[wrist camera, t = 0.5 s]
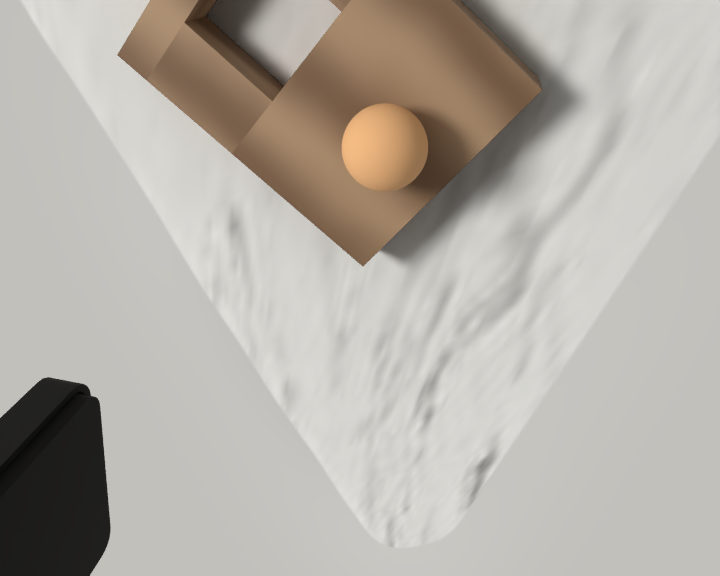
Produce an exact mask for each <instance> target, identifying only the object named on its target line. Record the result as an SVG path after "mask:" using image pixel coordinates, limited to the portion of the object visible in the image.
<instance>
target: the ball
mask: <svg viewBox="0 0 720 576" xmlns="http://www.w3.org/2000/svg"><path fill="white" fill-rule="evenodd" d="M427 154H428V139H427V135H426V132H425V129H424V127H423V126H422V124H421V122H420V121H419V119H418V118H417V117H416V116H415V115H414V114H413V113H412V112H410V111H409V110H407V109H406V108H404V107H401V106H399V105H395V104H390V103H382V104H375V105H372V106H369V107H367V108H365V109H363V110H361V111H360V112H359V113H358V114H356V115H355V116H354V117H353V118H352V120H351V121H350V122H349V124H348V126H347V127H346V130H345V132H344V135H343V139H342V157H343V161H344V164H345V166H346V168H347V170H348V172H349V173H350V175H351V176H352V177H353V178H354V179H355V180H356V181H357V182H358V183H360V184H361V185H363V186H364V187H366V188H368V189H371V190H374V191H381V192H387V191H394V190H398V189H401V188H403V187H405V186H407V185H408V184H410V183H411V182H412V181H413V180H414V179H416V177H417V176H418V175H419V174H420V172H421V171H422V169H423V167H424V165H425V162H426V159H427Z"/></svg>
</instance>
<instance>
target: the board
mask: <svg viewBox="0 0 720 576" xmlns="http://www.w3.org/2000/svg"><path fill="white" fill-rule="evenodd" d="M330 1H331V2H332V3H333V4H334V5H335V6H336V7H337V8H338V9H339V10H340V11H341V13H340V15H339V16H338V17H337V19H336V20H335V21H334V22H333V24H332V25H331V26H330V28H329V29H328V30H327V32H326V33H325V34H324V35H323V37H322V38H321V39H320V41H319V42H318V43H317V44H316V46H315V47H314V48H313V50H312V51H311V52H310V53H309V55H308V56H307V57H306V59H305V60H304V61H303V62H302V64H301V65H300V66H299V68H298V69H297V70H296V71H295V73H294V74H293V75H292V77H291V78H290V79H289V81H288V82H287V83H286V84H285V86H283V85H282V84H280V83H279V82H278V81H277V80H276V79H275V78H274V77H273V76H272V75H270V74H269V73H268V72H267V71H266V70H265V69H264V68H263V67H262V66H260V65H259V64H258V63H257V62H256V61H255V60H254V59H253V58H252V57H250V56H249V55H248V54H247V53H246V52H245V51H244V50H243V49H242V48H241V47H239V46H238V45H237V44H236V43H235V42H234V41H233V40H232V39H231V38H229V37H228V36H227V35H226V34H225V33H224V32H223V31H222V30H221V29H219V28H218V27H217V26H216V25H215V24H214V23H213V22H212V21H211V20H209V19H208V18H207V17H206V15H207V14H208V12H209V11H210V9H211V8H212V6H213V5H214V3H215V2H216V0H150V2H149V3H148V5H147V7H146V8H145V10H144V12H143V13H142V15H141V17H140V18H139V20H138V22H137V23H136V25H135V27H134V28H133V30H132V31H131V33H130V35H129V36H128V38H127V40H126V41H125V43H124V45H123V46H122V48H121V50H120V51H119V53H118V56H119V57H120V58H121V59H123V60H124V61H125V62H126V63H127V64H128V65H129V66H131V67H132V68H133V69H134V70H135V71H136V72H138V73H139V74H140V75H141V76H142V77H143V78H145V79H146V80H147V81H148V82H149V83H150V84H152V85H153V86H154V87H155V88H156V89H157V90H159V91H160V92H161V93H162V94H163V95H164V96H165V97H167V98H168V99H169V100H170V101H171V102H172V103H174V104H175V105H176V106H177V107H178V108H179V109H181V110H182V111H183V112H184V113H185V114H186V115H188V116H189V117H190V118H191V119H192V120H193V121H195V122H196V123H197V124H198V125H199V126H200V127H202V128H203V129H204V130H205V131H206V132H207V133H208V134H210V135H211V136H212V137H213V138H214V139H215V140H217V141H218V142H219V143H220V144H221V145H222V146H224V147H225V148H226V149H227V150H228V151H229V152H231V153H232V154H233V155H234V156H235V157H236V158H238V159H239V160H240V161H241V162H242V163H243V164H244V165H246V166H247V167H248V168H249V169H250V170H251V171H253V172H254V173H255V174H256V175H257V176H258V177H260V178H261V179H262V180H263V181H264V182H265V183H267V184H268V185H269V186H270V187H271V188H272V189H274V190H275V191H276V192H277V193H278V194H279V195H280V196H282V197H283V198H284V199H285V200H286V201H287V202H289V203H290V204H291V205H292V206H293V207H294V208H296V209H297V210H298V211H299V212H300V213H301V214H303V215H304V216H305V217H306V218H307V219H308V220H310V221H311V222H312V223H313V224H314V225H315V226H316V227H318V228H319V229H320V230H321V231H322V232H323V233H325V234H326V235H327V236H328V237H329V238H330V239H332V240H333V241H334V242H335V243H336V244H337V245H339V246H340V247H341V248H342V249H343V250H344V251H346V252H347V253H348V254H349V255H350V256H351V257H353V258H354V259H355V260H356V261H357V262H358V263H359V264H361V265H362V266H364V265H365V264H366V263H367V262H368V261H369V260H370V259H371V258H372V257H373V256H374V255H375V254H376V253H377V252H378V251H379V250H380V249H381V248H382V247H383V246H384V245H385V244H386V243H387V242H388V241H389V240H390V239H391V238H392V237H393V236H394V235H395V234H397V233H398V232H399V231H400V230H401V229H402V228H403V227H404V226H405V225H406V224H407V223H408V222H409V221H410V220H411V219H412V218H413V217H414V216H415V215H416V214H417V213H418V212H419V211H420V210H421V209H422V208H423V207H424V206H425V205H426V204H427V203H428V202H429V201H430V200H431V199H432V198H433V197H434V196H435V195H436V194H437V193H438V192H439V191H440V190H441V189H442V188H443V187H444V186H445V185H446V184H447V183H448V182H449V181H450V180H451V179H452V178H453V177H454V176H455V175H456V174H457V173H459V172H460V171H461V170H462V169H463V168H464V167H465V166H466V165H467V164H468V163H469V162H470V161H471V160H472V159H473V158H474V157H475V156H476V155H477V154H478V153H479V152H480V151H481V150H482V149H483V148H484V147H485V146H486V145H487V144H488V143H489V142H490V141H491V140H492V139H493V138H494V137H495V136H496V135H497V134H498V133H499V132H500V131H501V130H502V129H503V128H504V127H505V126H506V125H507V124H508V123H509V122H510V121H511V120H512V119H513V118H514V117H515V116H516V115H517V114H518V113H520V112H521V111H522V110H523V109H524V108H525V107H526V106H527V105H528V104H529V103H530V102H531V101H532V100H533V99H534V98H535V97H536V96H537V95H538V94H539V93H540V92H541V91H542V87H541V84H540V80H539V78H538V77H537V76H536V75H535V74H534V73H533V72H532V71H531V70H530V69H529V68H528V67H527V66H526V65H525V64H524V63H523V62H522V61H521V60H520V59H519V58H518V57H517V56H516V55H515V54H514V53H513V52H512V51H511V50H510V49H509V48H508V47H507V46H506V45H505V44H504V43H503V42H502V41H501V40H500V39H499V38H498V37H497V36H496V35H495V34H494V33H493V32H492V31H491V30H490V29H489V28H488V27H487V26H486V25H485V24H484V23H483V22H482V21H481V20H480V19H479V18H478V17H477V16H476V15H475V14H474V13H473V12H472V11H471V10H470V9H469V8H468V7H467V6H466V5H465V4H464V3H463V2H462V1H461V0H330ZM382 103H390V104H395V105H399V106H401V107H404V108H406V109H407V110H409V111H410V112H412V113H413V114H414V115H415V116H416V117H417V118H418V119H419V121H420V122H421V124H422V126H423V127H424V129H425V132H426V135H427V139H428V154H427V159H426V162H425V165H424V167H423V169H422V171H421V172H420V174H419V175H418V176H417V177H416V179H414V180H413V181H412V182H411V183H410V184H408V185H407V186H405V187H403V188H401V189H398V190H394V191H387V192H381V191H374V190H371V189H368V188H366V187H364V186H363V185H361V184H360V183H358V182H357V181H356V180H355V179H354V178H353V177H352V176H351V175H350V173H349V172H348V170H347V168H346V166H345V164H344V161H343V157H342V139H343V135H344V132H345V130H346V127H347V126H348V124H349V122H350V121H351V120H352V118H353V117H354V116H355V115H356V114H358V113H359V112H360V111H361V110H363V109H365V108H367V107H369V106H372V105H375V104H382Z"/></svg>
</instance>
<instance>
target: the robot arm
mask: <svg viewBox="0 0 720 576" xmlns="http://www.w3.org/2000/svg"><path fill="white" fill-rule="evenodd" d="M109 537H110V517H109V505H108V493H107V482H106V470H105V459H104V447H103V435H102V424H101V412H100V403H99V400H98V399H97V398H96V397H93V396H91V394H90V390H89V388H88V387H87V386H86V385H84V384H80V383H75V382H70V381H64V380H59V379H54V378H49V377H48V378H44V379H42V380H41V381H39V382H38V383H37V384H36V385H35V386H34V387H32V388H31V390H29V391H28V392H27V393H26V394H25V395H24V396H23V397H22V398H21V399H20V400H19V401H18V402H17V403H16V404H15V405H14V406H13V407H12V408H11V409H9V410H8V411H7V412H6V413H5V414H4V415H3V416H2V417H1V418H0V576H90V574H91V572H92V571H93V569H94V568H95V566H96V565H97V563H98V562H99V560H100V558H101V557H102V555H103V553H104V551H105V549H106V547H107V544H108V540H109Z"/></svg>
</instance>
